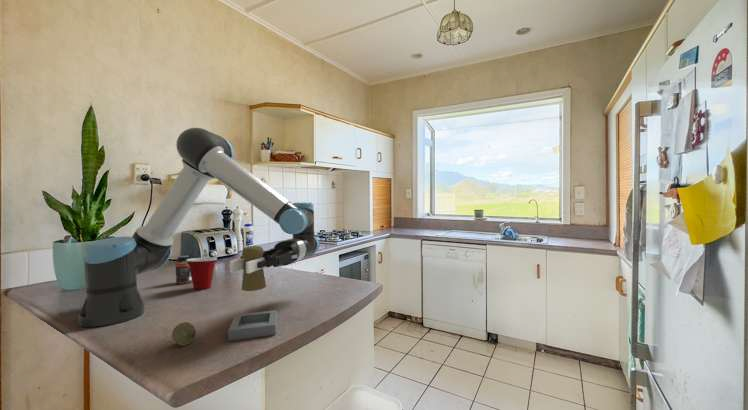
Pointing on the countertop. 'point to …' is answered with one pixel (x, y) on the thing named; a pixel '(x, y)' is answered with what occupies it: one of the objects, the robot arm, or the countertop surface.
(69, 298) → the countertop surface
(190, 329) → the grey-green short cylinder
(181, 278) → the supplement bottle
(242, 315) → the block
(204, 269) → the plastic cup
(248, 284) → the cork
